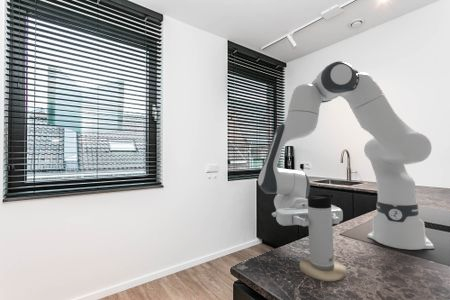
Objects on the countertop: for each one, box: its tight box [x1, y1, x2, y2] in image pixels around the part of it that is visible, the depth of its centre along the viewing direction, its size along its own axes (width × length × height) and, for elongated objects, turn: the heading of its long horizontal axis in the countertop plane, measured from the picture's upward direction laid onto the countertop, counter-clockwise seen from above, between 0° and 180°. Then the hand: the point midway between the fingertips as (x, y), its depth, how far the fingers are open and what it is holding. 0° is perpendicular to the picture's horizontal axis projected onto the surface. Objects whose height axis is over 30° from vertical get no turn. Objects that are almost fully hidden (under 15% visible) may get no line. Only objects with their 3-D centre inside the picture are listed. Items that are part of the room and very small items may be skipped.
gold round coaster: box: [299, 256, 347, 282], centre depth 65 cm, size 12×12×1 cm
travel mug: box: [307, 193, 335, 271], centre depth 65 cm, size 6×7×20 cm
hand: (321, 222), depth 64 cm, fingers open, 8 cm apart
